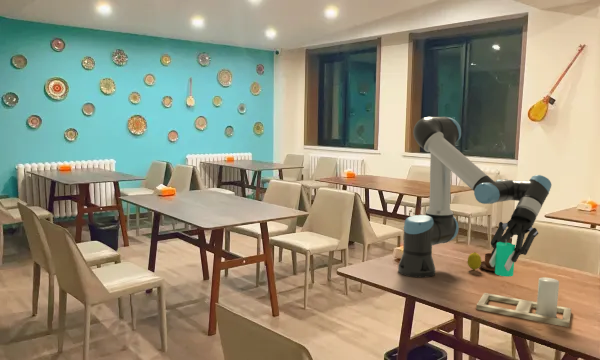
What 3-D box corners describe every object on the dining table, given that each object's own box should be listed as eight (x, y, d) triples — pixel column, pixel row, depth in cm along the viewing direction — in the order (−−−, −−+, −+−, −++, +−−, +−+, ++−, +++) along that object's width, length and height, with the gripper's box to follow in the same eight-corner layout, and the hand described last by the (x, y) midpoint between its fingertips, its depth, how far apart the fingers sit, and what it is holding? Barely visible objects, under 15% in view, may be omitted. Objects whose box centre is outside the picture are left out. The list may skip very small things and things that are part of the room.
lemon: (474, 273, 212) (475, 254, 211) (464, 269, 217) (465, 251, 216) (483, 271, 215) (484, 253, 214) (473, 267, 219) (474, 249, 218)
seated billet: (535, 316, 167) (537, 281, 165) (537, 310, 172) (539, 276, 170) (555, 320, 164) (558, 284, 162) (556, 314, 169) (559, 279, 167)
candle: (515, 277, 170) (517, 242, 168) (496, 275, 171) (498, 241, 169) (511, 271, 176) (513, 238, 174) (493, 270, 177) (495, 237, 175)
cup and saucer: (510, 268, 220) (511, 254, 219) (505, 275, 210) (506, 261, 209) (482, 263, 226) (482, 250, 226) (475, 270, 216) (476, 256, 216)
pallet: (476, 309, 172) (476, 304, 172) (484, 296, 184) (484, 292, 184) (568, 327, 158) (569, 322, 158) (570, 312, 170) (571, 308, 170)
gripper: (554, 223, 174) (528, 279, 166) (505, 215, 188) (478, 266, 179) (548, 210, 170) (521, 266, 162) (498, 202, 184) (471, 254, 175)
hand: (498, 266), depth 170 cm, fingers closed on candle, 5 cm apart
